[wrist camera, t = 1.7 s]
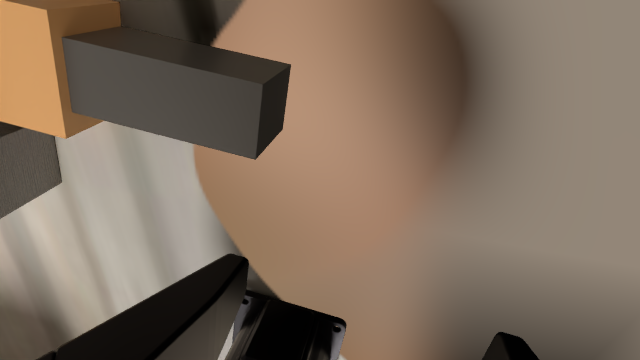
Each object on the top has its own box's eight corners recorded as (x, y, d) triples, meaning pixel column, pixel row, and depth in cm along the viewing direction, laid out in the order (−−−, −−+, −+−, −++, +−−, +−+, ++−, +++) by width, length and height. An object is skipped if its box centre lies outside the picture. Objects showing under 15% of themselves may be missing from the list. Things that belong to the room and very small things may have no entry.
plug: (280, 148, 19) (248, 187, 16) (55, 91, 21) (-18, 116, 17) (294, 40, 17) (260, 58, 13) (39, -16, 18) (-51, -12, 15)
